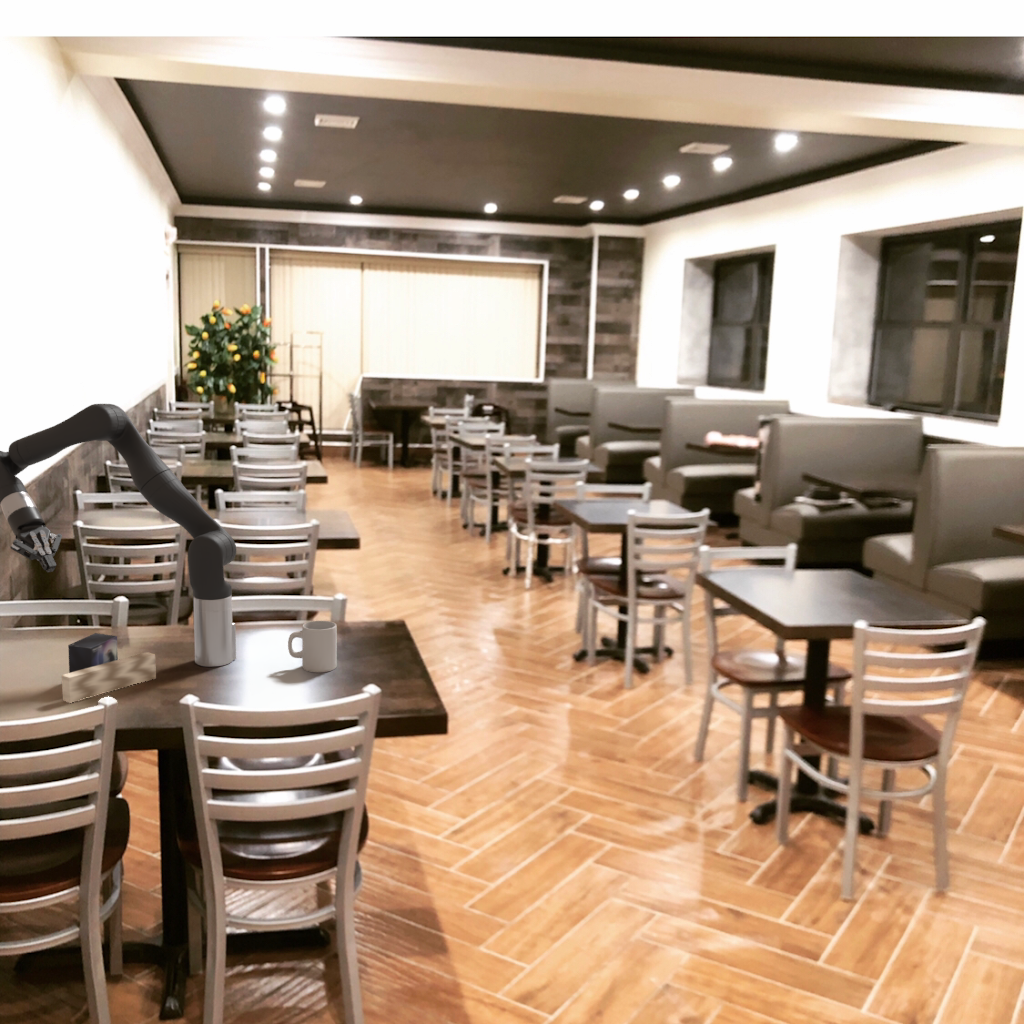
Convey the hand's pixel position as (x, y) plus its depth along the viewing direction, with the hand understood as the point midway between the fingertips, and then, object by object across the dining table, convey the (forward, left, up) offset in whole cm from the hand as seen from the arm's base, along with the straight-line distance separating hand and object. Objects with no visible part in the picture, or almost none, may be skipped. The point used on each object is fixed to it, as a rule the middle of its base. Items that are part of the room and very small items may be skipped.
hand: (51, 569), depth 246 cm
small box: (+2, +19, -24) cm, 31 cm away
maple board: (+2, +26, -24) cm, 36 cm away
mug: (-39, +50, -24) cm, 68 cm away
